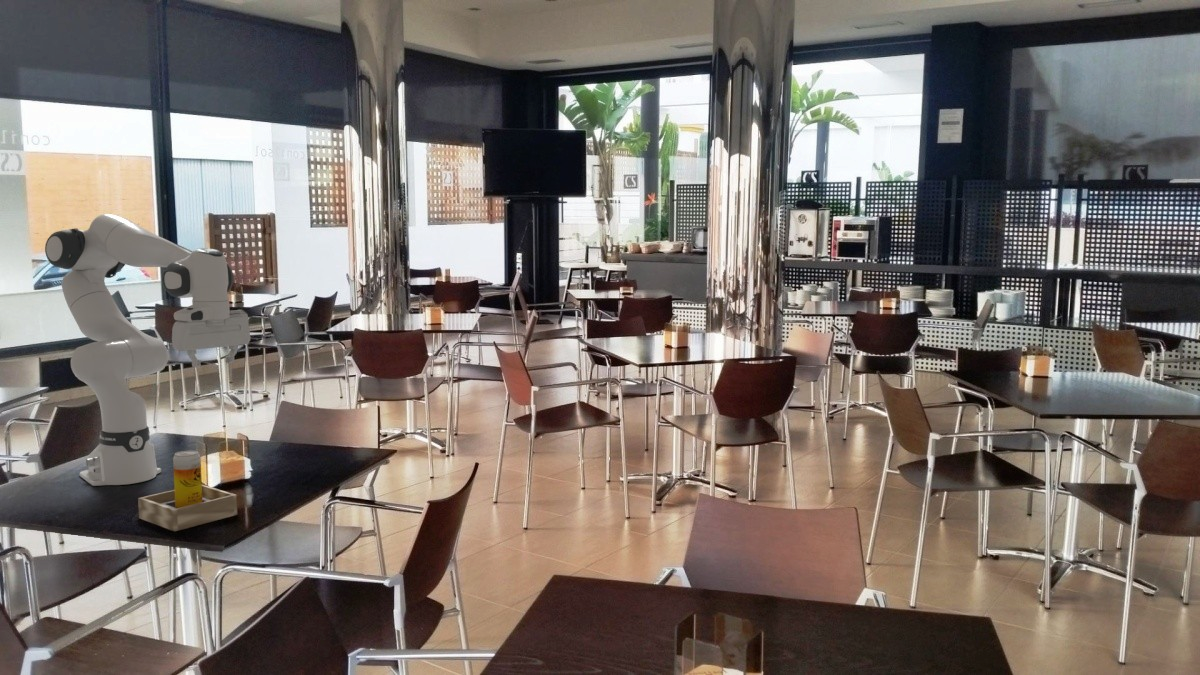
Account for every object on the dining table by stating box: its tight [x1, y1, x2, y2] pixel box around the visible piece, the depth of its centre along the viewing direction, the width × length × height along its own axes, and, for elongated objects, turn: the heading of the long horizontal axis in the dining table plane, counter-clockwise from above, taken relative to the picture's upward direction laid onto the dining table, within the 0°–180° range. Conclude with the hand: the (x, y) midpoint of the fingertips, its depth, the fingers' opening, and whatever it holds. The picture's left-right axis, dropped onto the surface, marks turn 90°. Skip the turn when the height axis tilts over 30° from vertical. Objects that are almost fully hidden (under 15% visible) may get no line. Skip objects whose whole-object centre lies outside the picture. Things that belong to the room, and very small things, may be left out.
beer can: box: [172, 449, 203, 508], centre depth 228 cm, size 6×6×15 cm
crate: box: [137, 483, 238, 532], centre depth 229 cm, size 16×16×5 cm
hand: (213, 364), depth 246 cm, fingers open, 8 cm apart
